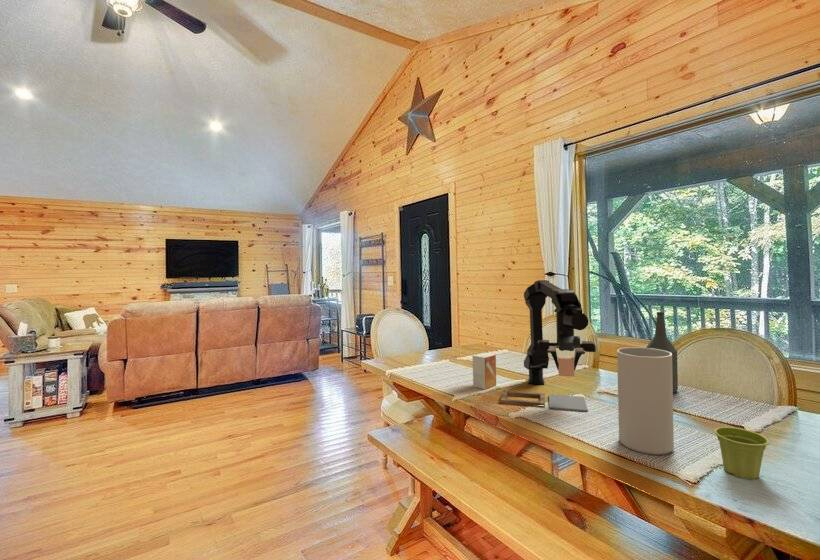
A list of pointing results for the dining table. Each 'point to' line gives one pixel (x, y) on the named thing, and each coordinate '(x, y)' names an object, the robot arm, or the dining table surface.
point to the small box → (484, 370)
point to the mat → (567, 403)
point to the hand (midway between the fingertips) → (566, 369)
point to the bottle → (665, 346)
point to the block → (566, 365)
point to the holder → (523, 402)
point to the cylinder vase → (645, 400)
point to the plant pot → (741, 451)
